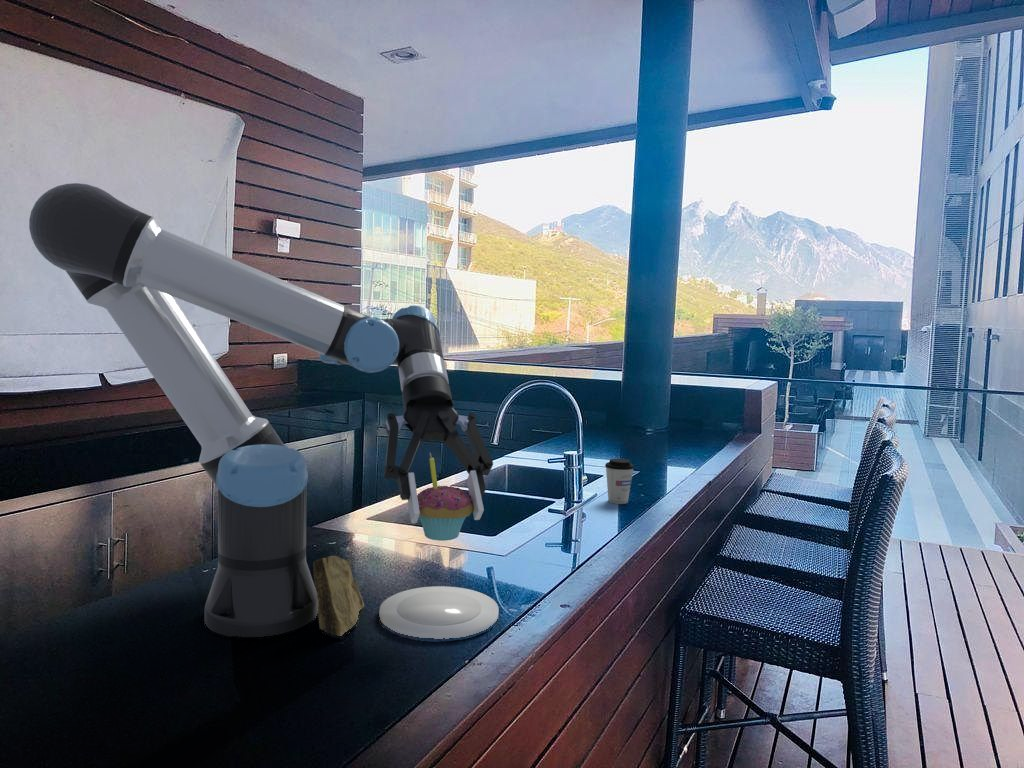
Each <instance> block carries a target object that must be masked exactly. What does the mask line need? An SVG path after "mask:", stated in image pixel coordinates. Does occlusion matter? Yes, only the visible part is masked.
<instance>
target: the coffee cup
mask: <svg viewBox="0 0 1024 768" xmlns="http://www.w3.org/2000/svg"><path fill="white" fill-rule="evenodd" d="M604 467H605V470H606V471H605V472H606V473H605V474H606V484H607V486H606V487H607V499H608V502H609V503H611V504H617V505H624V504H628V503H629V497H630V490H631V484H632V478H633V473H634V469H635V466H634V464H633V463H631V461H630V459H626V458H610V459H609V462H606V463H605V465H604Z"/></svg>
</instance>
